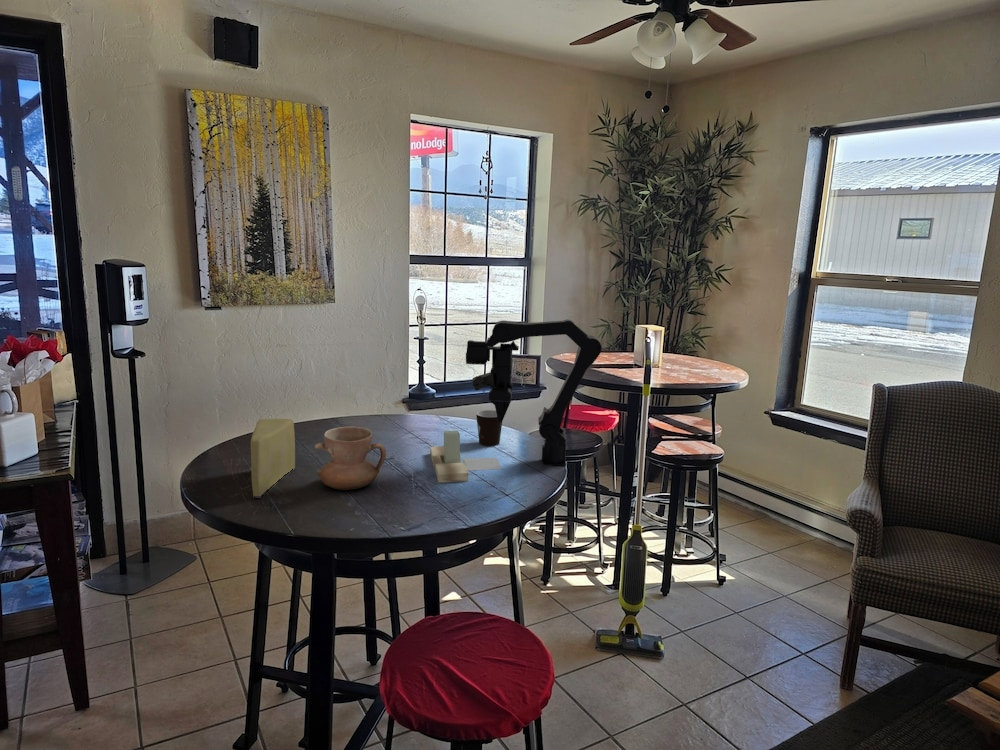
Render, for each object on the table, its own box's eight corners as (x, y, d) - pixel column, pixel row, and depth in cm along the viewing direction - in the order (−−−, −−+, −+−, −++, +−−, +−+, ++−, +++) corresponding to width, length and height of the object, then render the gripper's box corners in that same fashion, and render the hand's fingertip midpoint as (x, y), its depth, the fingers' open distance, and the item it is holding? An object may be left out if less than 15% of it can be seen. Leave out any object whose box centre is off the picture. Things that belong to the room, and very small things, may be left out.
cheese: (277, 499, 158) (273, 441, 155) (236, 500, 157) (232, 441, 154) (296, 468, 180) (294, 416, 177) (261, 469, 179) (257, 417, 176)
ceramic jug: (311, 495, 161) (310, 441, 158) (319, 474, 175) (318, 424, 172) (384, 494, 163) (384, 441, 160) (386, 474, 177) (387, 424, 174)
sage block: (457, 463, 185) (457, 430, 183) (459, 468, 182) (459, 434, 180) (443, 464, 185) (443, 431, 183) (445, 469, 181) (445, 435, 179)
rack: (456, 453, 195) (456, 445, 195) (468, 481, 172) (468, 472, 172) (430, 454, 194) (430, 446, 193) (438, 483, 171) (438, 474, 170)
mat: (496, 458, 191) (496, 457, 191) (502, 470, 182) (502, 469, 182) (463, 459, 190) (463, 458, 190) (466, 471, 180) (466, 470, 180)
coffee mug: (500, 448, 200) (501, 417, 198) (473, 447, 202) (473, 416, 200) (506, 438, 212) (506, 408, 210) (480, 436, 213) (480, 407, 211)
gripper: (476, 358, 194) (475, 408, 197) (470, 370, 175) (470, 425, 178) (513, 359, 193) (512, 409, 196) (511, 371, 175) (510, 426, 178)
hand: (500, 417), depth 187 cm, fingers open, 9 cm apart
